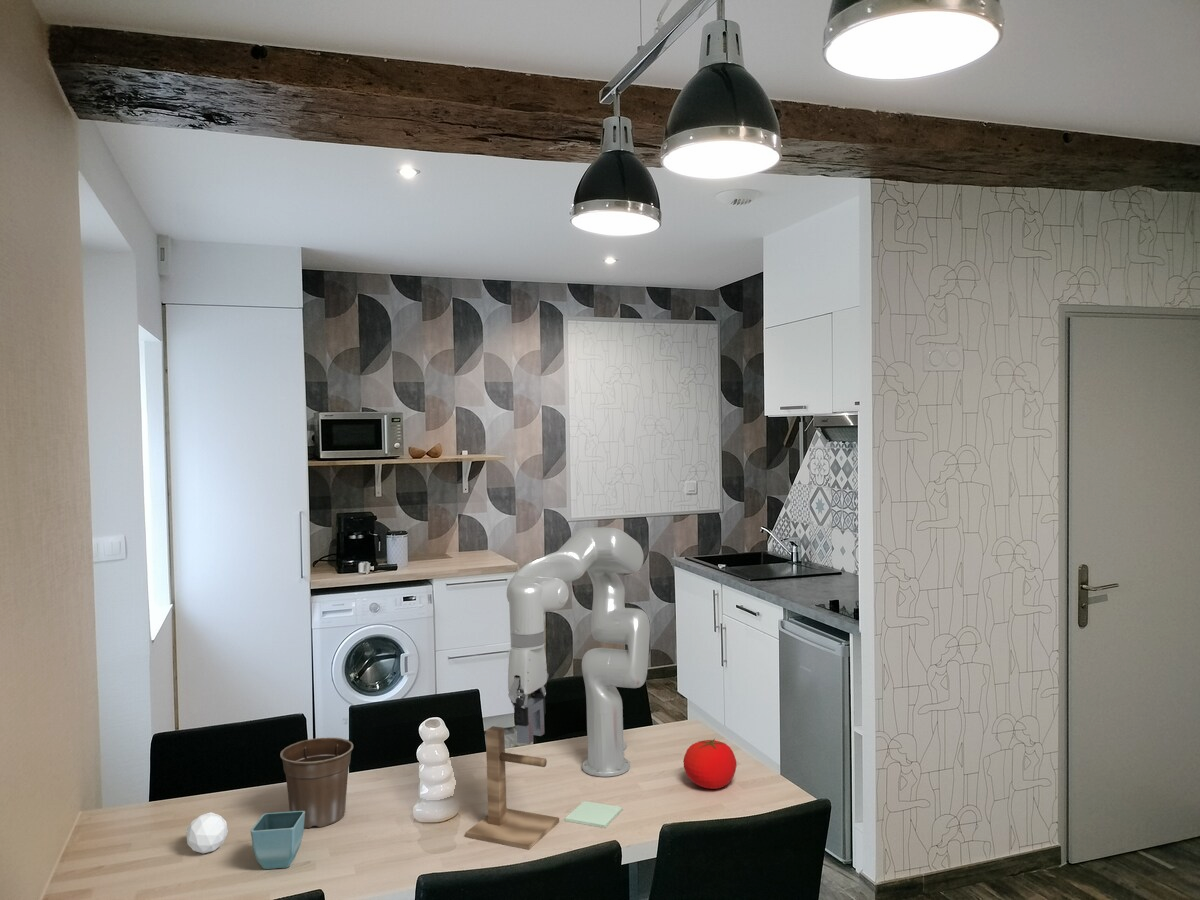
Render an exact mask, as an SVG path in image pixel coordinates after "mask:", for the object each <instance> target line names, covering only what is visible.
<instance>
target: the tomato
mask: <svg viewBox="0 0 1200 900" xmlns="http://www.w3.org/2000/svg"><path fill="white" fill-rule="evenodd" d="M737 764H738V763H737V759H736V755H735V753H734V751H733V750H732V748H731V747H730V746H729V745H728V744H727V743H726V742H722V741H720V740H715V738H714V739H706V740H705V739H704V740H700V741H699V740H698V741H697V742H695V743H693V744H690V746H689V747H688V748H687V749H686V752H685V753H684V757H683V768H684V772H685V774H686V776H687V777H688V779H690V780H691V781H692V782H693V783H694V784H695V785H697V786H699V787H701V788H705V789H711V790H712V789H713V790H715V789H720V788H723V787H725V786H726V785H728V784H729V783H731V781H732V779H733V777H734V776H735V773H736V769H737Z"/></svg>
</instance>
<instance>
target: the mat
mask: <svg viewBox="0 0 1200 900" xmlns="http://www.w3.org/2000/svg"><path fill="white" fill-rule="evenodd" d="M623 808H624V807H622V806H617V805H611V804H605V803H600V802H599V803H598V802H592V801H586V800H583V801H582V802H581V803H580V804H579V805H578V806H577V807H575V809H574V810H572V811H571V812H570V813H569V814H568V815H567V816H565V818H564V821H565V822H570V823H576V824H581V825H584V826H585V825H587V826H591V827H592V826H593V827H597V828H604V829H606V828H607V827H608V826H609V825H610V824H611V823H612V822H613V820H615V818H617V816H619V814H620V813H621V812H622V811H623ZM611 821H612V822H611ZM610 822H611V823H610Z"/></svg>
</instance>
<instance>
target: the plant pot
mask: <svg viewBox="0 0 1200 900" xmlns="http://www.w3.org/2000/svg"><path fill="white" fill-rule="evenodd" d="M353 749H354V744H353V742H352V741H350V740H348V739H345V738H341V737H318V738H310V739H309V738H308V739H305V740H300V741H297V742H295V743H293V744H290V745H288V746H286V747H284V749H282V750H281V751H280V755H279V756H280V759H281V760H282V766H283V767H282V768H283V772H284V774H285V779H286V780H285V781H286V788H287V789H286V791H287V797H288V807H289V812H293V811H305V819H304V829H311V828H312V827H317V828H322V827H327V826H330V825H333V824H334V823H336V822H338V821H340V820H341V819H343V817H344V816H345V813H346V807H347V806H346V804H347V791H348V778H349V766H350V764H351V758H352V756H351V755H352V751H353Z"/></svg>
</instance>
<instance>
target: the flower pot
mask: <svg viewBox="0 0 1200 900" xmlns="http://www.w3.org/2000/svg"><path fill="white" fill-rule="evenodd" d="M304 819H305V811H293V812H290V811H280V812H267V813H265V812H264V813H263V814H261V816H260V817H259V819H258V820H257V822H256V823H255V824H254V826H252V828H251V829H250V836H251V843H252V848H253V849H252V850H253V854H254V857H255V859H256V861H257V862H258V863H259V865H260V866H261V867H262V869H264V870H271V869H283V868H285V869H286V868H289V867H290V866H291V865H292V863H293V861H294V859H295V858H296V856H297V854H298V852H299V849H300V846H301V844H302V842H303V841H302V840H303V836H304V832H305V831H304V830H305V828H304Z"/></svg>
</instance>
